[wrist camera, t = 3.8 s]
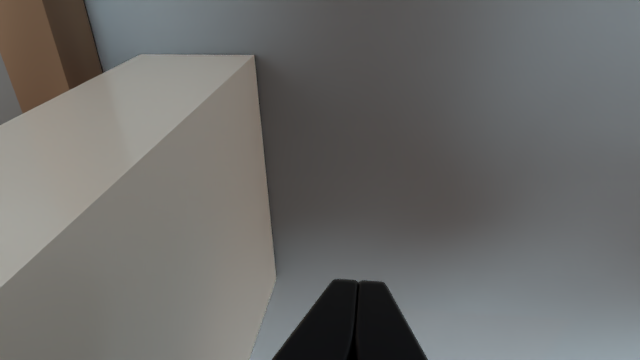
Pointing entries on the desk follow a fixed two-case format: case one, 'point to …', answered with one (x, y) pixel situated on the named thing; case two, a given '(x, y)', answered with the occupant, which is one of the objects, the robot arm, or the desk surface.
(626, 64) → the desk surface
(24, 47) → the walnut rail
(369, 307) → the robot arm
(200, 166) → the cream rectangular block
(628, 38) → the desk surface
